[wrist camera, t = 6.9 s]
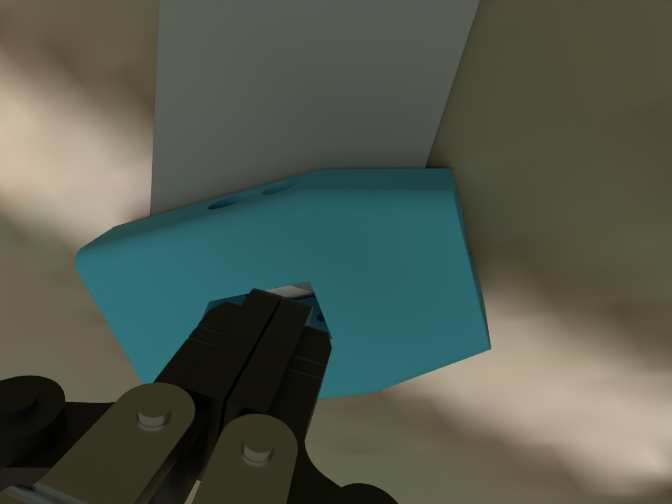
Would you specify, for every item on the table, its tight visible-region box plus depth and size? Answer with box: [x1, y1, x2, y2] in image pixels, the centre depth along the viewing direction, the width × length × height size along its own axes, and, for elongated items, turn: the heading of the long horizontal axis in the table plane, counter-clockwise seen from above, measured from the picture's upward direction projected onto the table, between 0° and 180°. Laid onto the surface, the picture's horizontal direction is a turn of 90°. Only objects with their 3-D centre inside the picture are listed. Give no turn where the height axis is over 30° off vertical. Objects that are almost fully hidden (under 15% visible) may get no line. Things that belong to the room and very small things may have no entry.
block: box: [75, 168, 491, 399], centre depth 27 cm, size 12×5×20 cm
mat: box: [150, 0, 480, 292], centre depth 26 cm, size 15×18×1 cm
